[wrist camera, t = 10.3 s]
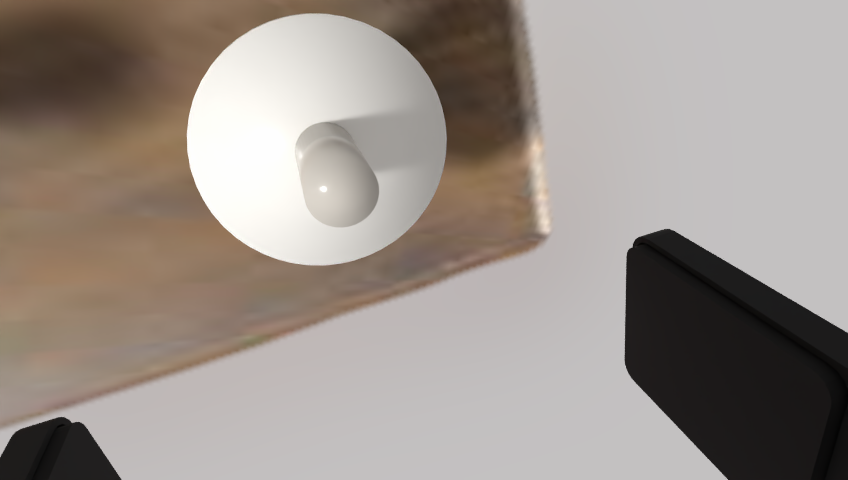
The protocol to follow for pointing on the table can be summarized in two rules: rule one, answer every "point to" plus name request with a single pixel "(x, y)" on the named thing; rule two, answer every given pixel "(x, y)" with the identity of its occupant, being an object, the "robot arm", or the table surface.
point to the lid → (316, 139)
